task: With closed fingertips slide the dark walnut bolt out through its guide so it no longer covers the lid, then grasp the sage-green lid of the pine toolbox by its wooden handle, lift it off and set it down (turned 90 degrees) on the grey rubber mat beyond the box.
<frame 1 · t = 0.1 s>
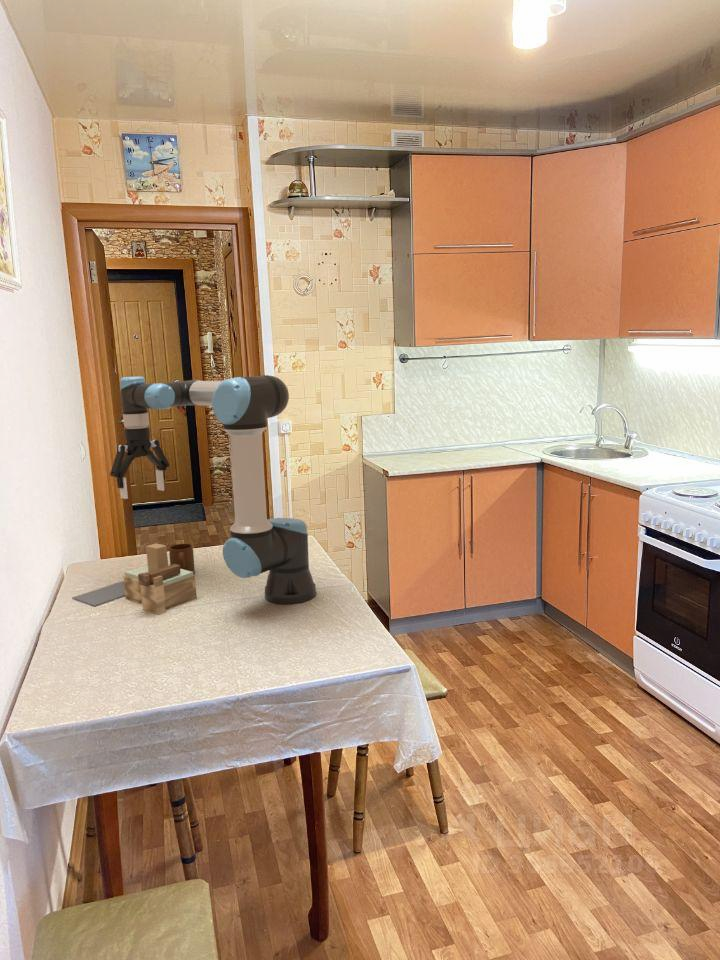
hand: (143, 494, 225), 28 cm above the table, fingers open, 13 cm apart
mat: (113, 592, 218), on the table
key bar: (160, 574, 203), point 10 cm above the table, slide at 0.0 cm
lid: (158, 575, 211), point 7 cm above the table, touching toolbox
toolbox: (161, 598, 212), on the table
mug: (183, 576, 232), on the table
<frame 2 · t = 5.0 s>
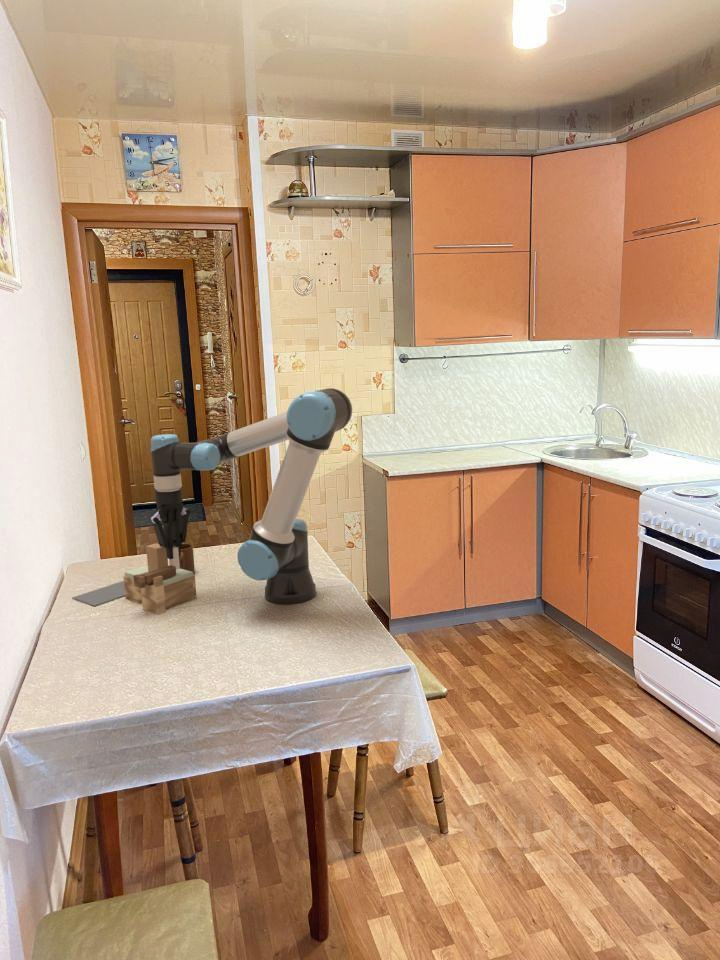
hand: (174, 568, 207), 10 cm above the table, fingers closed
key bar: (155, 575, 202), point 10 cm above the table, slide at 1.6 cm, touching gripper
everything else where it was.
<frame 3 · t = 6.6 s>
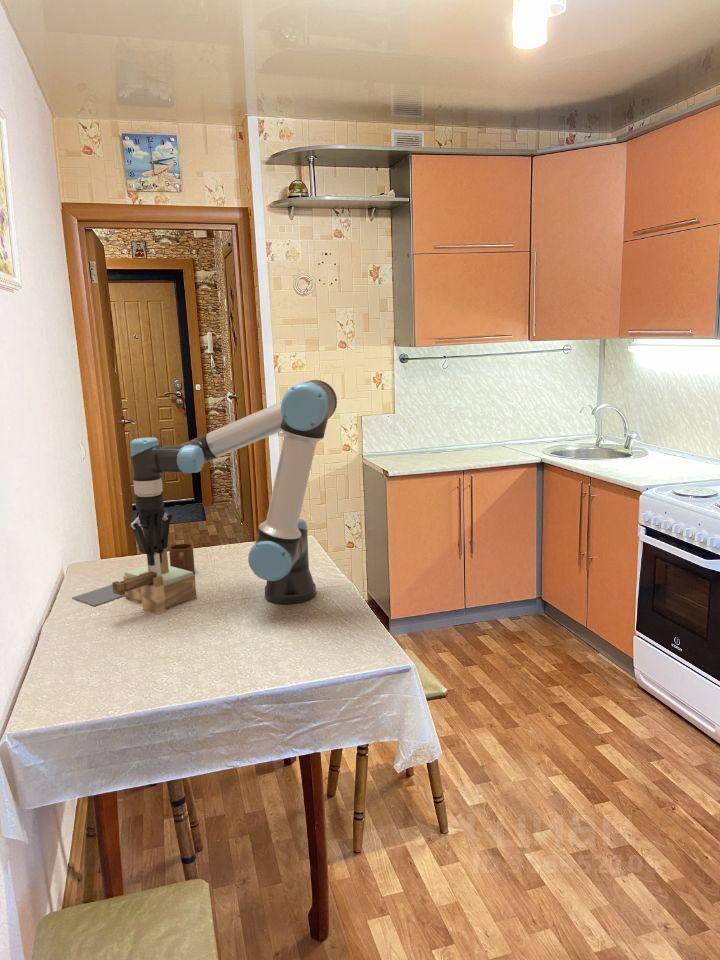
hand: (156, 575, 202), 10 cm above the table, fingers closed
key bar: (135, 582, 197), point 10 cm above the table, slide at 8.2 cm, touching gripper
everything else where it was.
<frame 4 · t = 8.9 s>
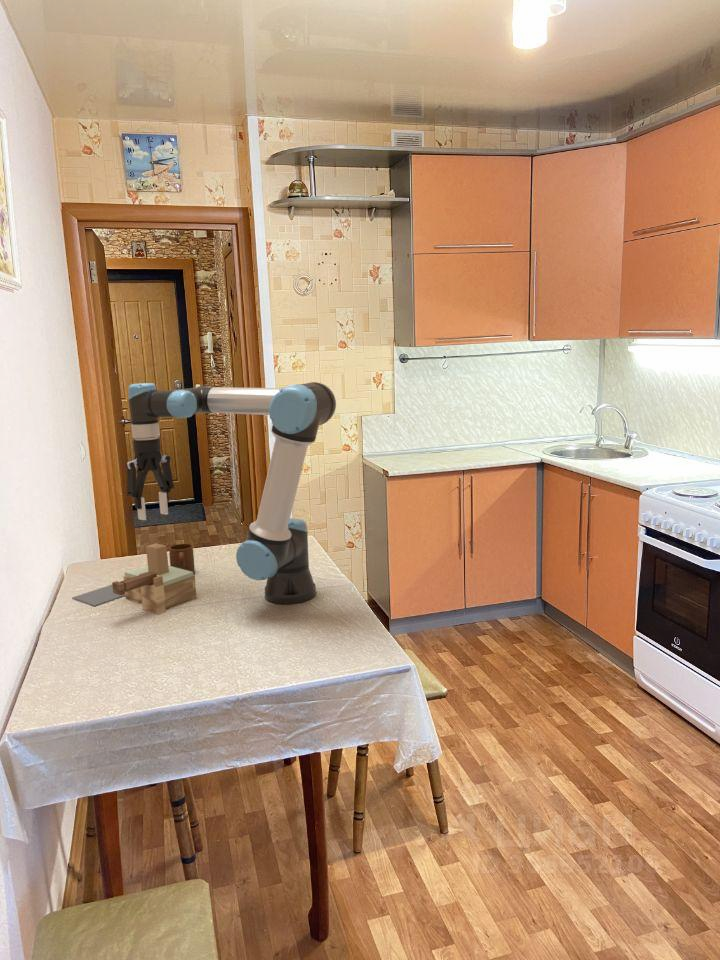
hand: (153, 516, 207), 25 cm above the table, fingers open, 7 cm apart
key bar: (135, 582, 197), point 10 cm above the table, slide at 8.2 cm
everything else where it was.
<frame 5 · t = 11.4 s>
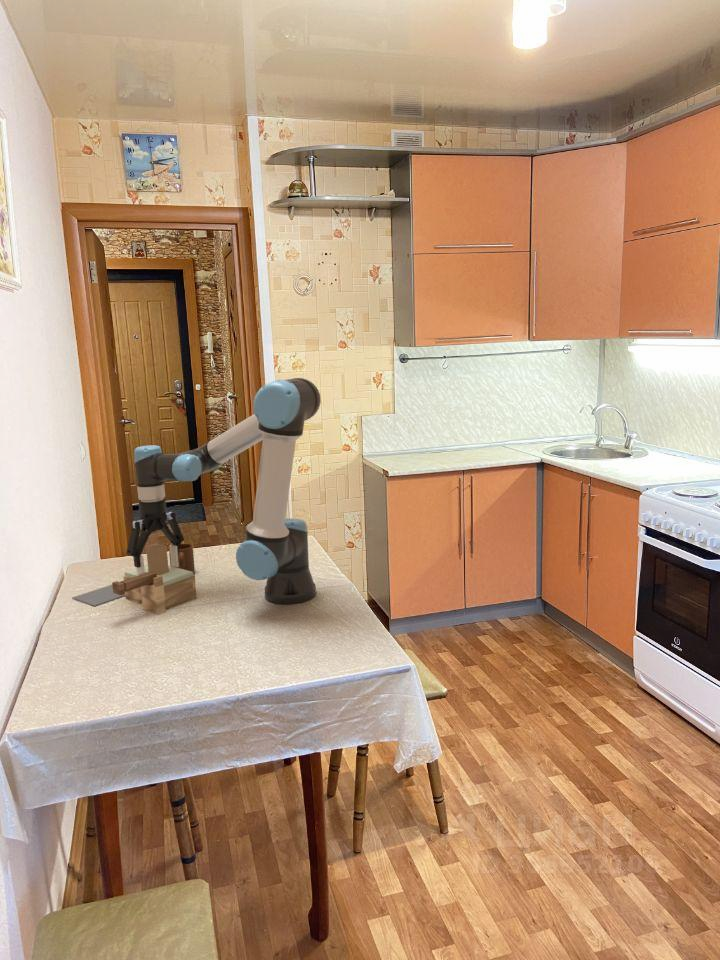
hand: (158, 571, 210), 8 cm above the table, fingers closed on lid, 11 cm apart
lid: (159, 575, 211), point 7 cm above the table, touching gripper, toolbox
everything else where it was.
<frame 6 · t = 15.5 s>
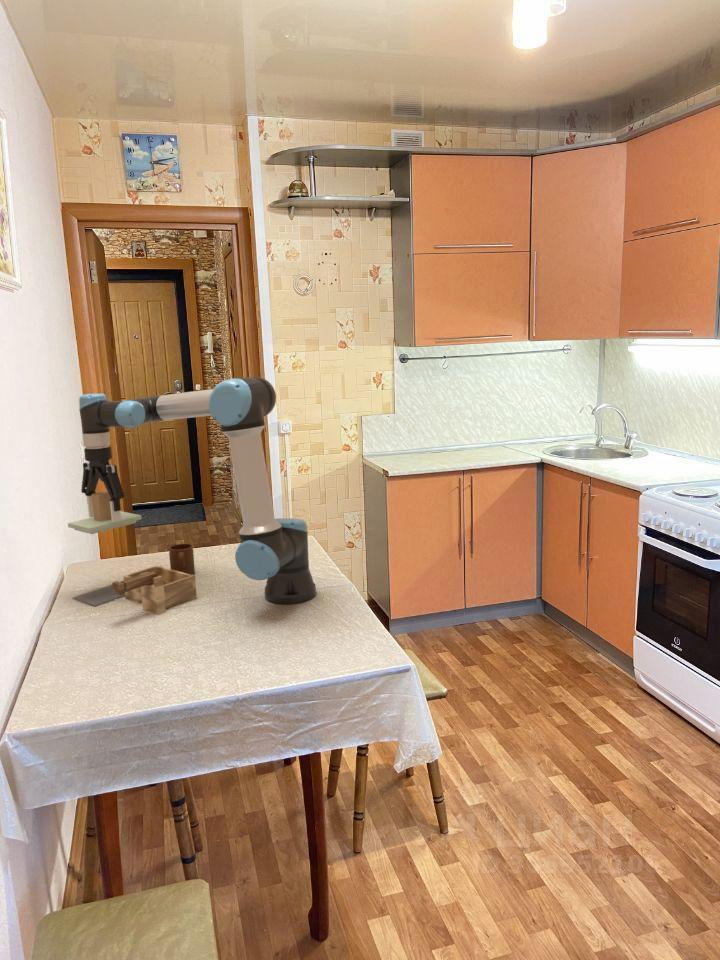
hand: (105, 519, 214), 23 cm above the table, fingers closed on lid, 11 cm apart
lid: (105, 523, 214), point 22 cm above the table, touching gripper
everything else where it was.
when the fingers open (4 cm above the table, at t = 19.5 s): lid stays where it is, resting on mat.
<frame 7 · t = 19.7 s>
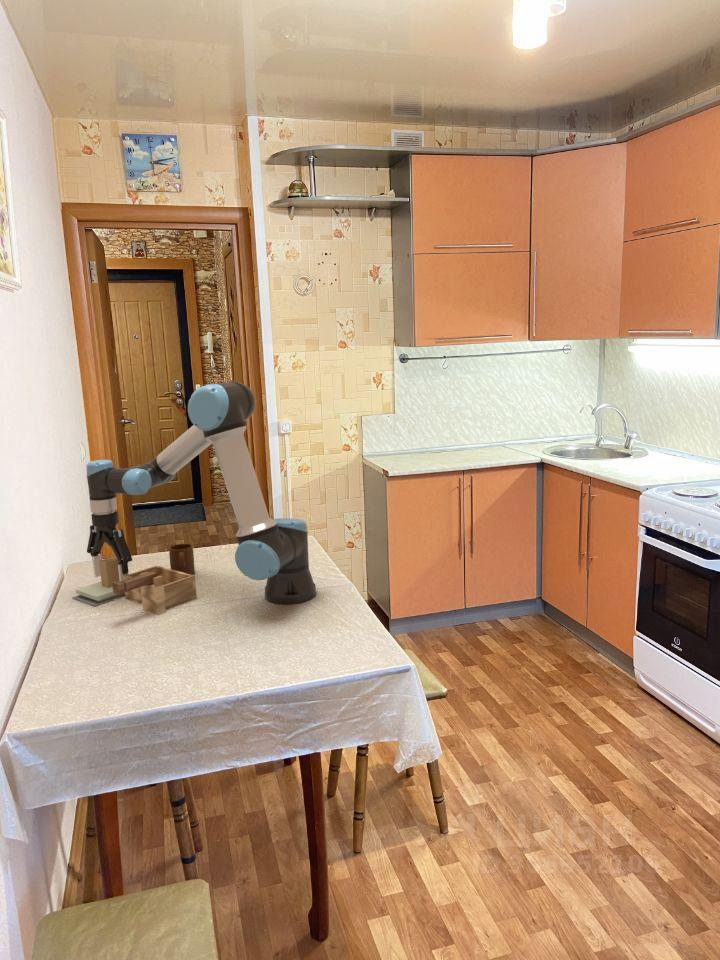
hand: (111, 579, 217), 4 cm above the table, fingers open, 13 cm apart
lid: (112, 588, 218), point 1 cm above the table, touching mat
everything else where it was.
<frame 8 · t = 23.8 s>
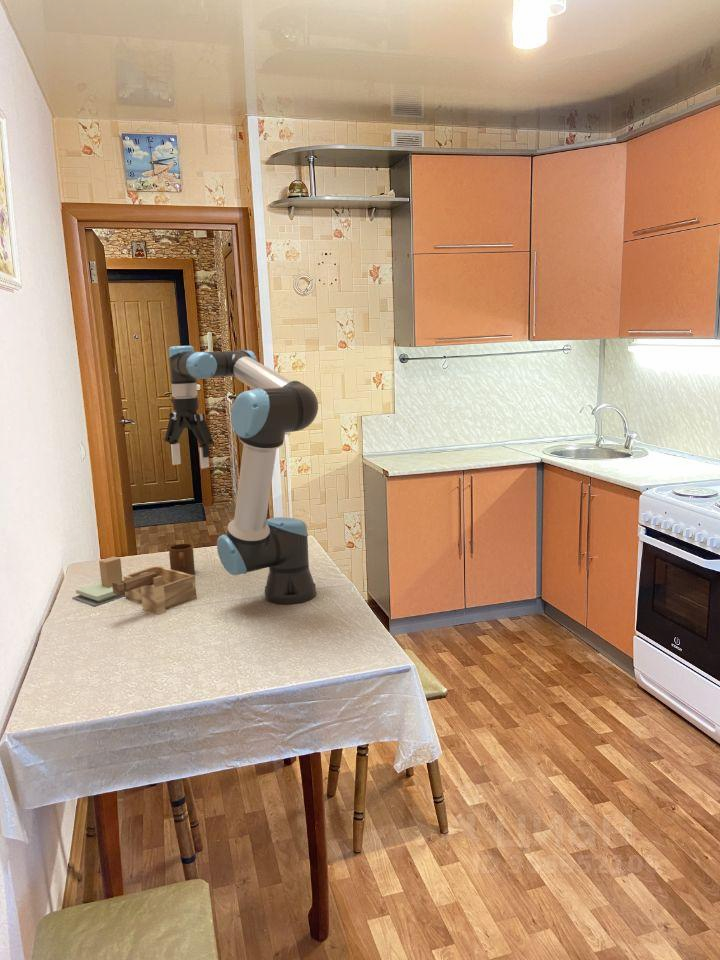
hand: (190, 466, 221), 37 cm above the table, fingers open, 13 cm apart
nothing on the table moved.
at the end: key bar slide at 8.2 cm; lid inside the target area on the mat (0.1 cm from its centre), point 1.4 cm above the mat's base; lid tilted 0° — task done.
